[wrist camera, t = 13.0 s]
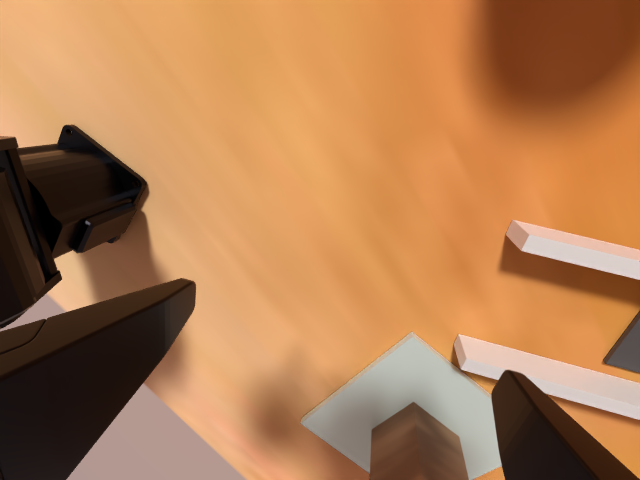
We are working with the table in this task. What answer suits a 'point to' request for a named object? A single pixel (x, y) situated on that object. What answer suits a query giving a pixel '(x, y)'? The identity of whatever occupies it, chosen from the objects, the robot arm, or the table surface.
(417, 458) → the post
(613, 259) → the channel
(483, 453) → the plate
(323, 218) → the table surface
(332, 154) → the table surface
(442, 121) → the table surface
